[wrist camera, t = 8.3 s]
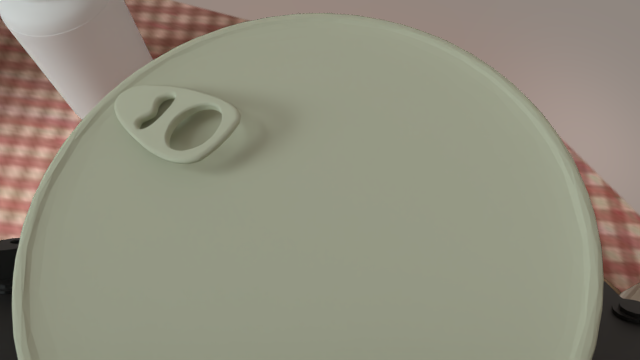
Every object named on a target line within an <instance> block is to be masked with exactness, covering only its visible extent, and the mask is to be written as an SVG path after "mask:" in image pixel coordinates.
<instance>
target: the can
mask: <svg viewBox="0 0 640 360" xmlns="http://www.w3.org/2000/svg"><path fill="white" fill-rule="evenodd" d="M603 283H604V277H603V262H602V248H601V243H600V238H599V233H598V228H597V223H596V217H595V213H594V210H593V207H592V204H591V201H590V198H589V195H588V192H587V189H586V187H585V185H584V182H583V180H582V178H581V175H580V173H579V171H578V168H577V166H576V164H575V162H574V160H573V158H572V157H571V155H570V153H569V152H568V150H567V148H566V147H565V145H564V143H563V142H562V140H561V138H560V137H559V135H558V134H557V132H556V131H555V130H554V128H553V127H552V126H551V124H550V123H549V122H548V120H547V119H546V118H545V116H544V115H543V114H542V113H541V112H540V111H539V110H538V108H537V107H536V106H535V105H534V104H533V103H532V102H531V101H530V100H529V99H528V98H527V97H526V96H525V95H524V94H523V93H522V92H521V91H520V90H519V89H518V88H517V87H516V86H515V85H514V84H513V83H511V82H510V81H509V80H507V79H506V78H505V77H504V76H502V75H501V74H500V73H498V72H497V71H496V70H495V69H494V68H492V67H491V66H489V65H487V64H486V63H485V62H483V61H482V60H480V59H479V58H477V57H475V56H474V55H473V54H471V53H469V52H467V51H465V50H463V49H461V48H459V47H458V46H456V45H454V44H452V43H450V42H448V41H446V40H443V39H441V38H439V37H436V36H434V35H431V34H429V33H426V32H423V31H420V30H418V29H414V28H412V27H408V26H405V25H402V24H398V23H394V22H389V21H385V20H381V19H375V18H370V17H364V16H358V15H346V14H333V13H309V14H292V15H283V16H274V17H267V18H262V19H257V20H253V21H247V22H243V23H239V24H235V25H232V26H228V27H225V28H222V29H219V30H216V31H214V32H211V33H208V34H206V35H203V36H200V37H197V38H195V39H192V40H190V41H188V42H186V43H184V44H182V45H180V46H177V47H176V48H174V49H172V50H170V51H168V52H167V53H165V54H163V55H161V56H160V57H158V58H156V59H154V60H153V61H151V62H150V63H148V64H146V65H145V66H143V67H142V68H140V69H138V70H137V71H136V72H134V73H133V74H132V75H130V76H129V77H128V78H126V79H125V80H124V81H122V82H121V83H120V84H119V85H118V86H116V87H115V88H114V89H113V90H112V91H111V92H109V93H108V94H107V95H106V96H105V97H104V98H103V99H102V100H101V101H100V102H99V103H98V104H97V105H96V106H95V107H94V108H93V109H92V110H91V111H90V112H89V113H88V114H87V115H86V116H85V117H84V119H83V120H82V121H81V122H80V123H79V125H78V126H77V127H76V128H75V130H74V131H73V132H72V133H71V135H70V136H69V137H68V138H67V140H66V141H65V142H64V143H63V145H62V147H61V148H60V150H59V151H58V153H57V155H56V156H55V158H54V159H53V161H52V163H51V164H50V166H49V167H48V169H47V171H46V173H45V175H44V177H43V179H42V181H41V183H40V185H39V187H38V189H37V191H36V193H35V195H34V197H33V200H32V202H31V205H30V208H29V211H28V213H27V216H26V219H25V222H24V224H23V228H22V232H21V236H20V240H19V245H18V249H17V253H16V259H15V266H14V272H13V285H12V319H13V336H14V342H15V347H16V352H17V357H18V360H592V357H593V354H594V351H595V347H596V343H597V337H598V331H599V325H600V320H601V314H602V306H603Z"/></svg>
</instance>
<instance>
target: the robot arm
mask: <svg viewBox="0 0 640 360" xmlns="http://www.w3.org/2000/svg"><path fill="white" fill-rule="evenodd" d="M19 240H20V238H12V239H6V240H1V241H0V360H18V357H17V352H16V347H15V342H14V336H13V319H12V285H13V272H14V266H15V259H16V253H17V249H18V245H19ZM592 360H640V302H639V301H636V300H631V299H624V298H621V297H620V296H619V295H618V294H617V293H616V292H615V291H614V290H613V289H612V288H611V287H610V286H609V285H608V284H607V283H606V282H605V281H604V283H603V306H602V314H601V320H600V325H599V331H598V337H597V343H596V347H595V351H594V354H593V357H592Z"/></svg>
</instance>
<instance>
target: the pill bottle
mask: <svg viewBox="0 0 640 360" xmlns="http://www.w3.org/2000/svg"><path fill="white" fill-rule="evenodd" d="M0 15H1V18H2V20H3V22H4V23H5V25H6V26H7V27H8V29H9V30H10V31H11V33H12V34H13V35H14V36H15V38H16V39H17V40H18V41H19V43H20V44H21V45H22V47H23V48H24V49H25V50H26V52H27V53H28V54H29V55H30V57H31V58H32V59H33V60H34V62H35V63H36V64H37V65H38V67H39V68H40V69H41V70H42V72H43V73H44V74H45V76H46V77H47V78H48V79H49V81H50V82H51V83H52V84H53V86H54V87H55V88H56V89H57V91H58V92H59V93H60V94H61V96H62V97H63V98H64V99H65V101H66V102H67V103H68V105H69V106H70V107H71V108H72V110H73V111H74V112H75V113H76V114H77V115H78V116H79V117H80V118H81V119H82V120H83V119H84V117H85V116H86V115H87V114H88V113H89V112H90V111H91V110H92V109H93V108H94V107H95V106H96V105H97V104H98V103H99V102H100V101H101V100H102V99H103V98H104V97H105V96H106V95H107V94H108V93H109V92H111V91H112V90H113V89H114V88H115V87H116V86H118V85H119V84H120V83H121V82H122V81H124V80H125V79H126V78H128V77H129V76H130V75H132V74H133V73H134V72H136V71H137V70H138V69H140V68H142V67H143V66H145V65H146V64H148V63H150V62H151V61H153V59H152V57H151V55H150V53H149V51H148V49H147V47H146V45H145V43H144V40H143V38H142V36H141V34H140V32H139V30H138V28H137V26H136V24H135V22H134V20H133V18H132V16H131V14H130V12H129V10H128V8H127V6H126V4H125V2H124V0H0Z"/></svg>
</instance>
